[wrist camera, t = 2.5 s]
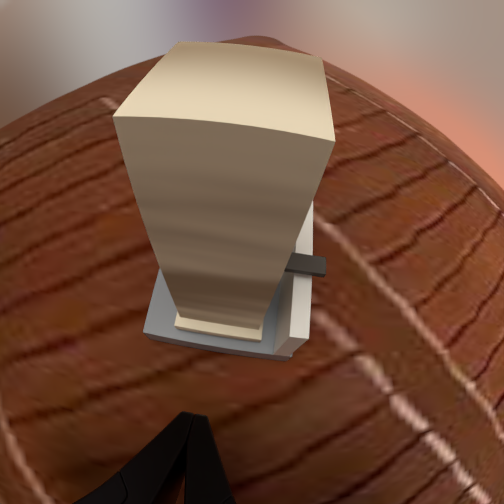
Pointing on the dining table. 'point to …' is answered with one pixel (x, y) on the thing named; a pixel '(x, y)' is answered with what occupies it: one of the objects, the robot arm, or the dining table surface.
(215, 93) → the beige brown box
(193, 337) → the board
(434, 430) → the dining table surface
